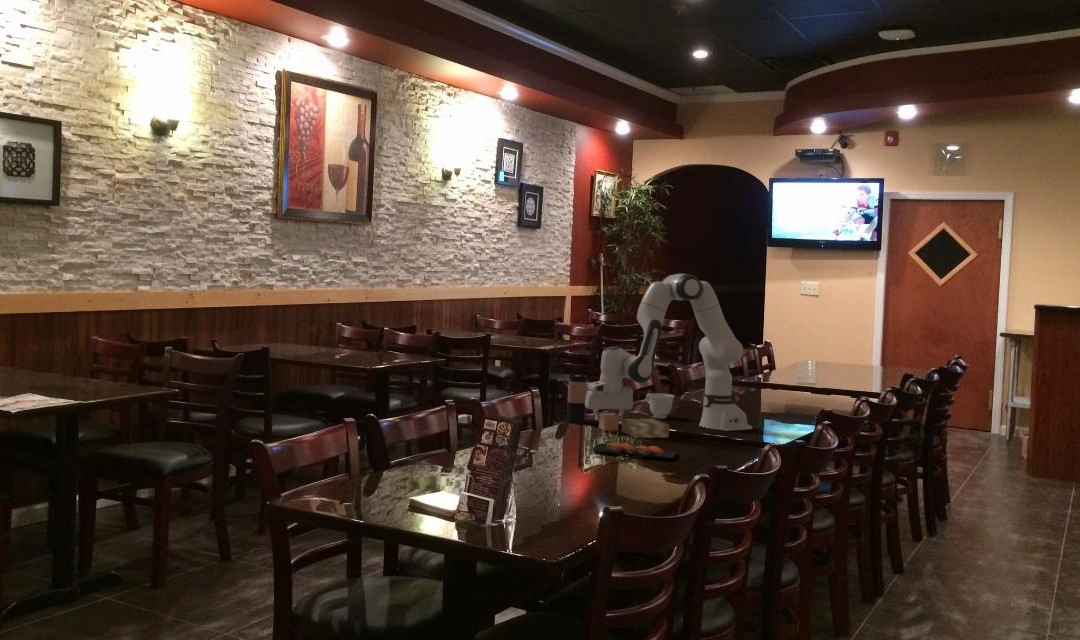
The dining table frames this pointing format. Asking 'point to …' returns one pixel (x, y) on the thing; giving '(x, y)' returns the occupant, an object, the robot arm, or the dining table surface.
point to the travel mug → (576, 398)
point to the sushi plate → (635, 451)
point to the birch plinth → (645, 428)
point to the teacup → (660, 404)
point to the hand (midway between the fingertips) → (608, 420)
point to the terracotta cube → (608, 421)
